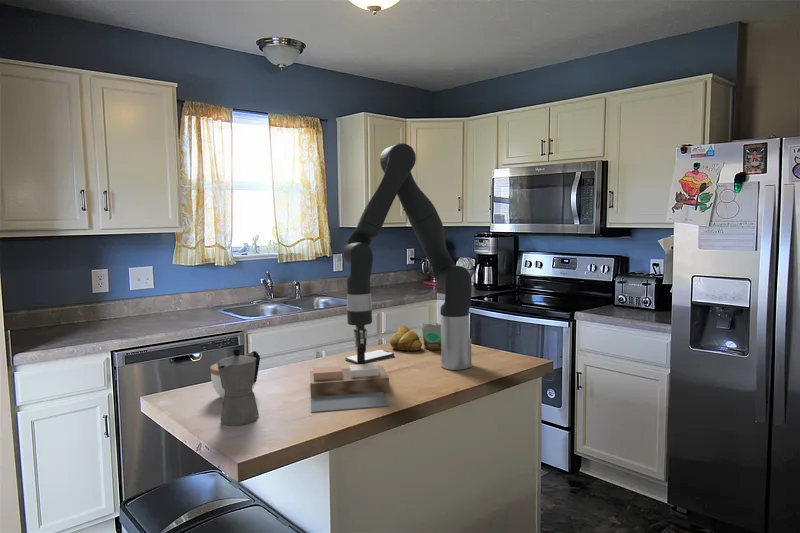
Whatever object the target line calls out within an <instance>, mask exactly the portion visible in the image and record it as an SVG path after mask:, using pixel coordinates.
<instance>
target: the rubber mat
mask: <svg viewBox="0 0 800 533" xmlns="http://www.w3.org/2000/svg"><path fill="white" fill-rule="evenodd" d="M385 407H386V408H388V407H390V406H389V403H388V401H387V398H386V396H385V393H384V392H372V393H359V394H346V395H334V396H321V397H311V396H310V409H311V410H310V411H311V414H312V413H314V414H315V413H324V412H336V411H349V410H358V409H359V410H360V409H373V408H374V409H375V408H385Z"/></svg>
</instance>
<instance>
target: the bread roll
mask: <svg viewBox="0 0 800 533" xmlns="http://www.w3.org/2000/svg"><path fill="white" fill-rule="evenodd" d="M389 344H390V346H391V348H392V349H395V350H400V351H403V350H407V351H409V350H410V351H411V352H412V351H413V352H414V351H419V350H421V349H422V347H423V344H422V341H421V340H420V337H419V335H418V333H417V332H415V331H413V330H410V329H409V327H408V326H405V325H402V326H399V327H398V329H397V331H396V332H395V333H394V334H392V336H391V337H390V340H389Z"/></svg>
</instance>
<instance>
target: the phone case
mask: <svg viewBox="0 0 800 533" xmlns="http://www.w3.org/2000/svg"><path fill="white" fill-rule="evenodd" d="M390 357H392V358H394V357H395V353H394V352H391V351H388V350H384V349H377V350H373V351H367V352H365V364H370V363H373V361H374V362H378V361H383V360H387V359H391V358H390ZM386 358H387V359H386ZM382 359H383V360H382ZM344 360H345V362H348V363H351V364H353V365H358V363H357V354H355V355H351V356H346V357H345V359H344ZM377 360H378V361H377Z"/></svg>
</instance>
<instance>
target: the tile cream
mask: <svg viewBox="0 0 800 533" xmlns="http://www.w3.org/2000/svg"><path fill="white" fill-rule="evenodd" d="M348 366H349V367H348V368H349V372H350V375H351V378H352V377H365V376H379V368H378V366H379V365H378V364H377V363H375V362H374V363H365V364H359V365H357V364H349V365H348Z"/></svg>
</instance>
